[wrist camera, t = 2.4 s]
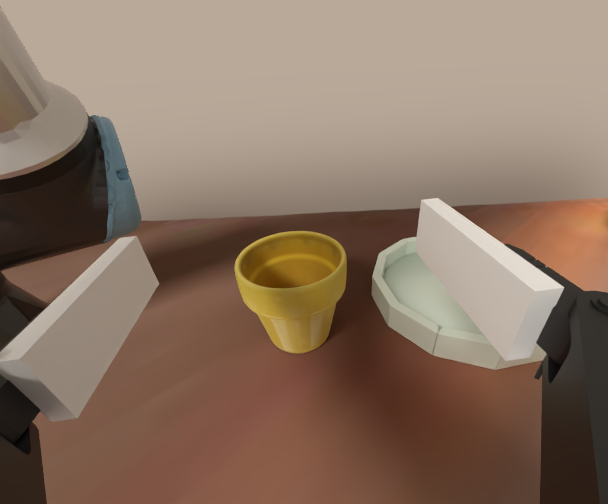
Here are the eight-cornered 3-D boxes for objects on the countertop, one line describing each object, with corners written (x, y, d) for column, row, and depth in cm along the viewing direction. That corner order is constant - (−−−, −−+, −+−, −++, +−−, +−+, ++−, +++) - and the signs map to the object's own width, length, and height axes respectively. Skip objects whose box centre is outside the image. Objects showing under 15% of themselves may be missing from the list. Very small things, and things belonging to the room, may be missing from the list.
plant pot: (316, 286, 37) (310, 220, 32) (367, 338, 29) (370, 261, 24) (241, 319, 33) (220, 249, 28) (277, 389, 25) (257, 310, 20)
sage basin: (359, 338, 29) (359, 317, 27) (385, 246, 43) (386, 229, 42) (597, 393, 22) (615, 370, 20) (532, 262, 37) (540, 242, 35)
